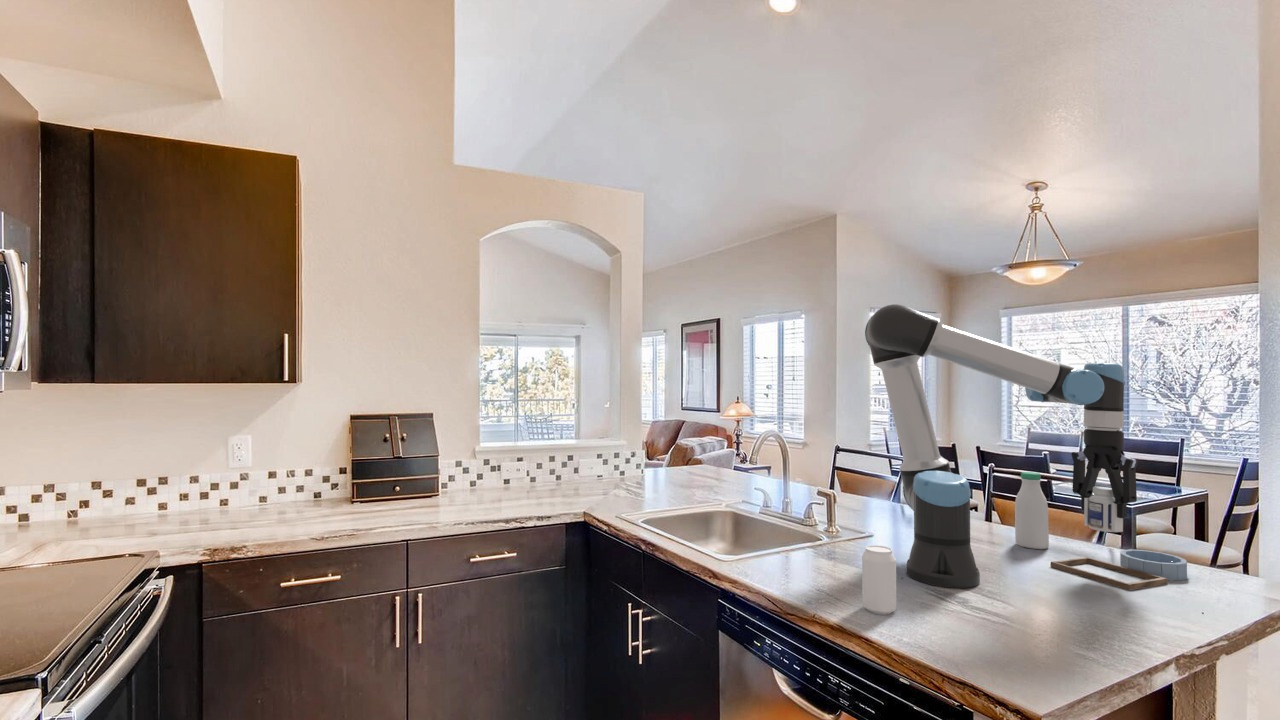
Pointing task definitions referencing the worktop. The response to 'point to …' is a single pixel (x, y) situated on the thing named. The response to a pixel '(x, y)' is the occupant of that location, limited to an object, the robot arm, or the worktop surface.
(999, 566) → the worktop surface
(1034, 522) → the milk bottle
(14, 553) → the worktop surface
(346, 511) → the worktop surface
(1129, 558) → the bowl
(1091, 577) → the empty rectangular wooden frame
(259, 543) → the worktop surface
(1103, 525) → the pill bottle
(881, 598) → the beverage can
